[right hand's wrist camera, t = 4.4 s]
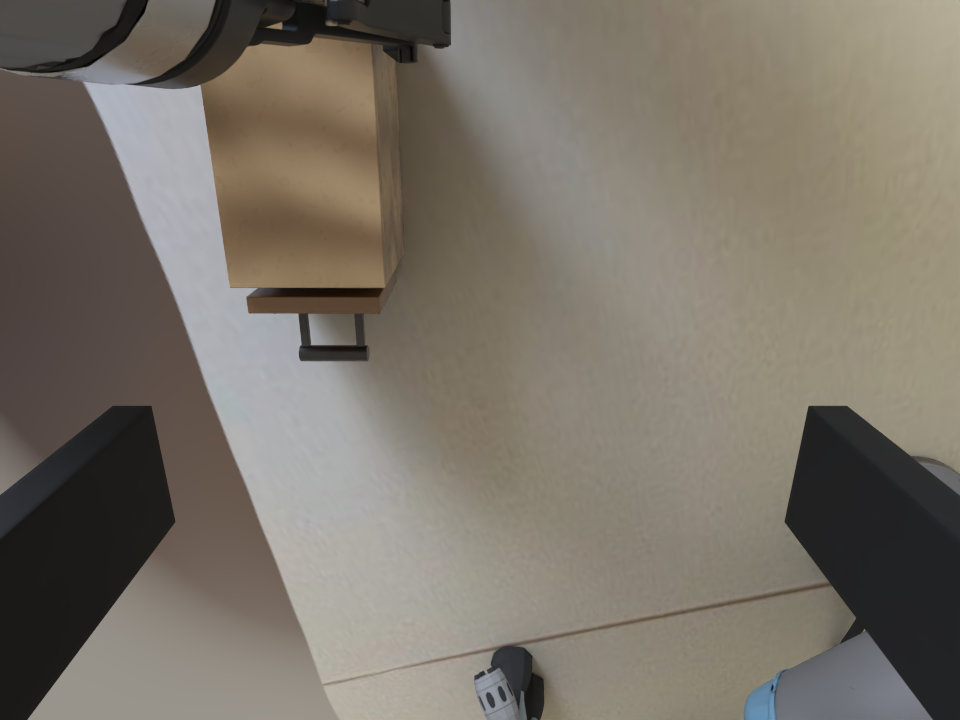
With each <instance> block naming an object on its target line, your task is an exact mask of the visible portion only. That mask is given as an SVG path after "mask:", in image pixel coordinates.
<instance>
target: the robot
mask: <svg viewBox="0 0 960 720" xmlns="http://www.w3.org/2000/svg"><path fill="white" fill-rule="evenodd" d="M491 666H492V667H491V668H489V669H488V670H487V671H488V673H487V674H485V672H484V671H482V672H480V673H479V674H477V675H475V680H474V681H475V688H476V693H477V696H478V699H479V702H480V705H481V707H482V710H483V712H484V715H486V718H487V720H540V719H541V716H542V712H543V707H544V682H543V679H542V678H540V677H538V676H536V675H534V674H533V673H532V655H531V654H530V653H529V652H528V651H526V650H525V649H524V648H519V647H504V648H501V649H499V650H498V651H496V652H495V653H494V655H493V658H492V661H491ZM531 673H532V674H531Z"/></svg>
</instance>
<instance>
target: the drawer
mask: <svg viewBox="0 0 960 720" xmlns="http://www.w3.org/2000/svg"><path fill="white" fill-rule="evenodd" d="M395 283H396V269H395V271H394V272H393V274H392V276H391V278H390V280H389V281H388V283H387V285H386V287H385V288H258V289H256V290H255V291H254V292H252V293H251V294H250V295H249V296H247V305H248V312H249V313H299V323H300V332H301V342H302V345H301V346H300V348H299V358H300V360H301V361H368V360H369V347H368V345H365V329H364V315H363V314H379V313H380V312H381V310H382V308H383V306H384V304H385V303H386V301H387V299H388V297H389V295H390V293H391V291H392V289H393V287H394V285H395ZM308 313H354V314H355V328H356V341H357V345H311V339H310V329H309V319H308Z"/></svg>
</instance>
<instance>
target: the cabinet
mask: <svg viewBox="0 0 960 720" xmlns="http://www.w3.org/2000/svg"><path fill="white" fill-rule="evenodd" d="M266 28H274V29H282V22H280V23H277V24H274V25H271V26H269V27H266ZM201 90H202V97H203V104H204V111H205V118H206V125H207V132H208V139H209V146H210V153H211V160H212V167H213V174H214V180H215V187H216V194H217V201H218V208H219V215H220V222H221V229H222V236H223V243H224V250H225V257H226V264H227V270H228V277H229V284H230V288H385V287H386V285H387V283H388V281H389V280H390V278H391V276H392V274H393V272H394V271H395V269H396V267H397V265H398V264H399V262H400V260H401V258H402V256H403V255H404V239H403V215H402V191H401V167H400V143H399V119H398V95H397V71H396V61H395V60H394V59H393V58H391V57H390V56H389V55H387V54H386V53H385V52H383V45H375V44H366V43H358V42H349V41H341V40H332V39H324V38H315V37H313V39H312V41H311V42H310V43H309V44H306V45H298V46H290V47H288V46H279V45H269V44H259V45H256V46H249V47H247V48H246V49H245V51H244V52H243V54H242V55H241V56H240V58H239V59H238V60H237V61H236V62H235V63H234V64H233V65H232V66H231V67H230V68H229V69H228V70H227V71H225V72H224V73H223V74H221V75H220V76H218V77H216V78H215V79H213V80H211V81H208V82H206V83H204V84H201Z"/></svg>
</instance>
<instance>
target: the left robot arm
mask: <svg viewBox="0 0 960 720" xmlns="http://www.w3.org/2000/svg"><path fill="white" fill-rule="evenodd" d="M280 22H282V29H274V28H266V27H269V26H271V25H274V24H277V23H280ZM313 37H315V38H324V39H332V40H341V41H349V42H358V43H366V44H375V45H383V52H385V53H386V54H387V55H389V56H390V57H391V58H393V59H394V60H395V61H397V62H399V63H417V62H418V53H417V44H425V45H430V46H433V47H435V48H439V49H441V48H444V47H449V45H451V8H450V0H0V69H1V70H5V71H8V72H12V73H16V74H19V75H25V76H34V77H44V78H53V79H62V80H72V81H81V82H91V83H100V84H110V85H113V84H128V85H137V86H146V87H155V88H165V89H182V88H189V87H193V86H198V85H201V84H204V83H206V82H208V81H211V80H213V79H215V78H216V77H218V76H220V75H221V74H223V73H224V72H225V71H227V70H228V69H229V68H230V67H231V66H232V65H233V64H234V63H235V62H236V61H237V60H238V59H239V58H240V56H241V55H242V54H243V52H244V51H245V49H246V48H247V47H249V46H256V45H259V44H269V45H279V46H288V47H290V46H298V45H306V44H309V43H310V42H311V41H312V39H313Z"/></svg>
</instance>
